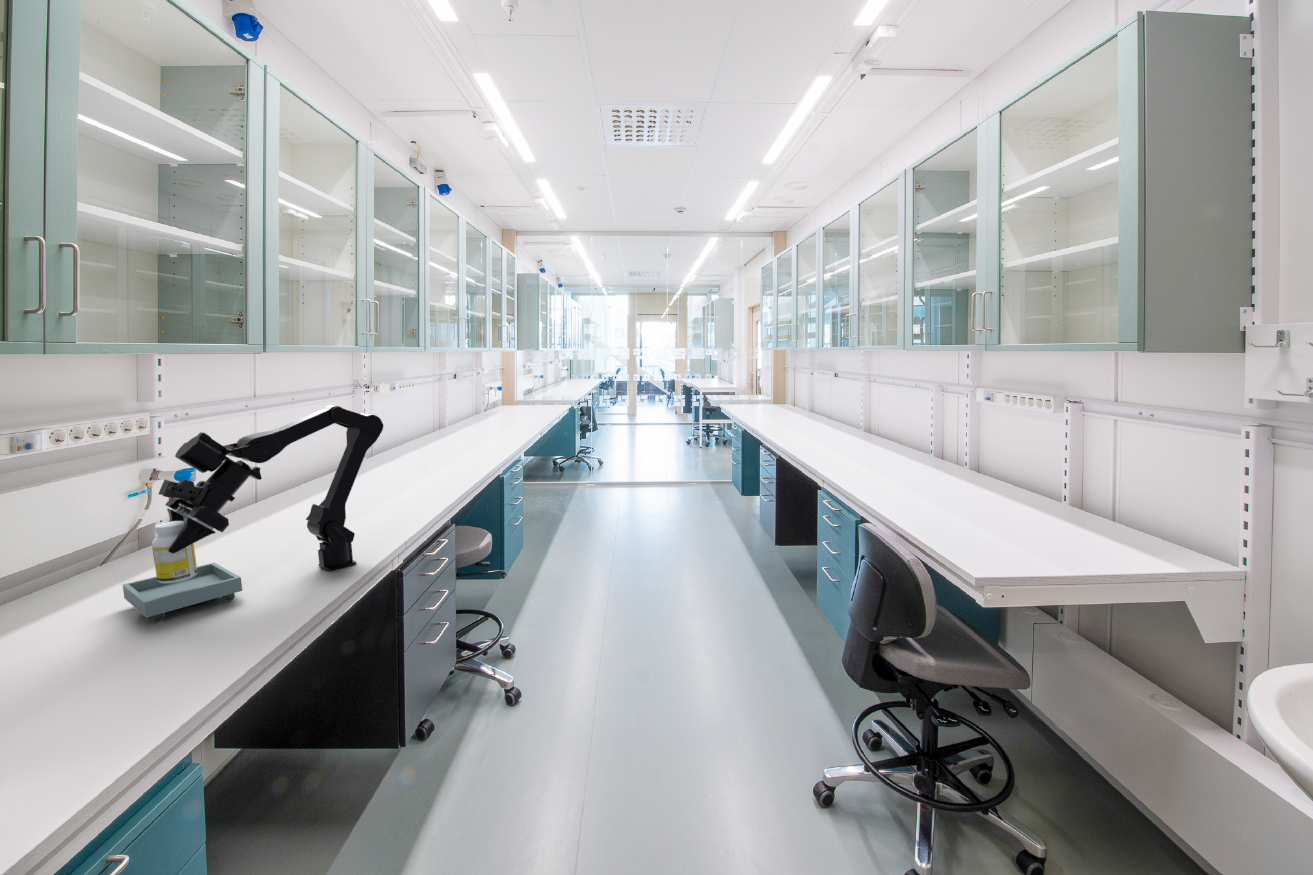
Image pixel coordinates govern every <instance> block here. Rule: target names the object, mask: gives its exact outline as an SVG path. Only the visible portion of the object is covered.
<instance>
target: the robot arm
mask: <svg viewBox="0 0 1313 875" xmlns="http://www.w3.org/2000/svg"><path fill="white" fill-rule="evenodd" d="M334 424H336V425H337V426H338V425H339V426H341V427H343V428H347V429H346V436H345V438H346V446H345V449H344V452H343V454H342V456H341V459H340V461H339V463H338V467H337V469H336V471H335V473H334V476H333V478H332V481H331V483H330V486H329V489H328V490H327V493H326V496H325V498H324V499H323V500H322V501H321V502H320V503H319V504H315V503H313V504H312V505H311V508H310V511H309V513H308V516H307V517H306V518H305V520H306V521H307V523H306V528H307V530H308V532H309V533H310V534H311V535H314V536H315V537H316V539H317V541H320V543H319V542H318V543H319V549H318V550H317V554H318V566H319V567H320V568H322V569H325V570H327V571H329V572H330V571H336V570H339V569H342V568H345V567H349V566H353V565H356V564H357V561H356V560H354V559H353V557H354V556H353V547H352V543H353V542H354V538H355V532H353V531H352V530H350V529H349V528H347V527H346V526H345V524H346V523H345V522H346V520H347V519H346V518H347V515H346V511H347V510H346V506H347V502H348V499H349V496H350V494H351V491H352V489H353V487H354V484H355V481H356V479H357V476H358V474H359V472H360V469H361V467H362V464H363V461H364V458H365V456H366V454H367V452H368V450H369V449H370V448H371V447H372V446H373V445H374V444H375V443H376V442H377V440H378V439H379V438H380V436H381V434H382V432H383V430H384V423H383V420H382V418H380V417H379V416H377V415H375V414H368V413H358V412H355V411H352V410H348V409H345V408H343V407H341V406H340V405H339V406H338V405H325V406H324V407H323V408H322V409H319V410H317V411H315V412H312V413H311V414H309V415H306V416H304V417H301V418H298V419H296V420H294V421H292V422H290V423H287V424H285V425H283V426H281V427H277V428H275V429H271V430H266V431H265V430H264V431H261V432H256V433H253V434H249V435H245V436H242V437H241V438H239V439H238V440H237V442H233V443H230V444H225V445H222V444H221V443H219V442H218V441H216V440H214V439H213V438H212V437H211V436H210V435H208V433H205V432H203V431H202V432H199V433H198V434H197V435H196V436H194V437H192V438H191V439H189V440H188V441H187V442H184V443H183V444H182V445H181V446H180V447H179V448H178V450H177V451H176V453H175V454H174V455H175V456H174V457H175V458H176V459H178V460H179V461H181V462H183V463H185V464H186V465H188V466H189V467H191V468H192V469H194V470H196V471H198V472H200V473H201V474H202V473H203V474H205V473H207V472H210V473H212V472H213V473H212V474H211V475H210V476H209V477H208V478H207V479H206V480H200V481H198V482H197V484H195V482H194V481H193V480H187V479H184V478H183V479H181V480H180V481H175V480H170V479H165V478H164V480H163V481H162V484H161V487H160V488H159V492H158V495H160V496H161V495H162V497H166V498H170V499H169V500H168V501H167V502H166V503H165V504H164V505H165V506H167V507H168V508H166V511H167V514H168V517H169V520H168V522H171V521H184V527H183V529H182V530H181V532H180V533H179V535H178V536H177V538H176V539H175V541H174V542H173V543H172V545H171V547H170V548H169V550H168V551H169V552H170V553H173V554H174V553H176V552H178V551H180V550H182V549H183V548H185V547H187V546H189V545H191V544H195V543H197V542H199V541H201V540H202V539H205V538H206V537H209V536H210V535H213V534H214V535H215V534H216V531H217V532H220V533H224V532H225V530H226V529H227V528H228V526H229V525H230V521H229V517H228V518H227V517H226V516H224V515H223V514H221V513H220V511H221V510H222V509H223V508H224V506H226V504H227V503H228V502H231V503H232V502H233V501H234V500H235V499H236V497H234V495H235V494H236V493H237V492H238V491H239V489H240V488H241V487H242V486H243V485H244V484H245V482H247V480H248V479H249V478H252V479H255V480H259V481H261V480H262V474H261V467H259V466H251V465H250V464H247V463H246V462H245V461H247V462H250V463H255V464H263V463H267V462H268V461H270V460H271V459H273V458H275V457H276V456H277V455H279V454H280V453H282V452H283V450H284V449H286V447H288V446H289V445H291V444H293V443H295V442H297V441H299V440H302V439H303V438H306V437H308V436H310V435H313V434H314V433H316V432H319V431H321V430H323V429H325V428H328V427H330V426H331V425H334ZM228 456H229V457H228ZM230 457H234V458H238V459H239V460H237V461H234V460H233V459H231V458H230ZM240 459H241V460H240ZM214 529H215V530H216V531H215V530H214Z"/></svg>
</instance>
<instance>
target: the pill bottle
mask: <svg viewBox="0 0 1313 875" xmlns="http://www.w3.org/2000/svg"><path fill="white" fill-rule="evenodd" d="M183 527H184V521H171V522H169V521H167V522H162V523H159V524H156V525H155V526H154V529H155V533H156V534H157V536H156V537H155V538H154V539H153V540H152V541H151V549H152V555H153V562H154V567H155V568H154V570H155V573H156V574H155V576H157V580H158V582H160V583H165V584H169V583H176V582H181V581H184V580H187V579H190V578H192V577H194V576H195V575H196V574H197V567H198V566H197V565H198V564H197V560H196V557H197V556H196V552H195V547H194V546H195V545H194V544H195V543H193V544H191V545H189V546H187V547H185V548H183V549H182V550H180V551H178V552H176V553H174V554H173V553H170V552H169V551H168V550H169V548H170V547H171V545H172V543H173V542H174V541H175V539H176V538H177V536H178V535H179V533H180V532H181V530H182V529H183Z"/></svg>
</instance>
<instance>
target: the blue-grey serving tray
mask: <svg viewBox="0 0 1313 875" xmlns="http://www.w3.org/2000/svg"><path fill="white" fill-rule="evenodd" d="M121 585H122V591H123V596H124V599H125V601H127V602H128V603H129V604H130V605H132V606H133V607H134V608H135V610H137V612H139V613H140V614H142V616H144V617H145V618H150V620H151V621H152V622H154V623H158V622H159V623H160V622H161V621H162V620H164V618H165V614H164V613H168V612H171V611H175V610H179V609H181V608H185V607H188V606H189V607H190V606H193V605H196V604H199V603H204V602H207V601H210V600H213V599H214V600H215V599H217V598H222V599H223V601H226V602H232V601H233V600H234V598H235V597H236V595H235V594H237V593H238V592H243V584H242V576H240V575H237V574H236V573H234V572H233V571H230V570H228V569H227V568H225V567H223V566H222V565H219V564H217V563H216V562H211V563H206V564H203V565H202V564H201V565H199V566H197V574H196V575H195V576H194V577H192V578H190V579H187V580H184V581H181V582H176V583H169V584H165V583H160V582H158V580H157V575H155V576H151V577H148V578H144V579H143V578H142V579H140V580H135V581H131V582H127V583H124V584H121Z"/></svg>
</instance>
